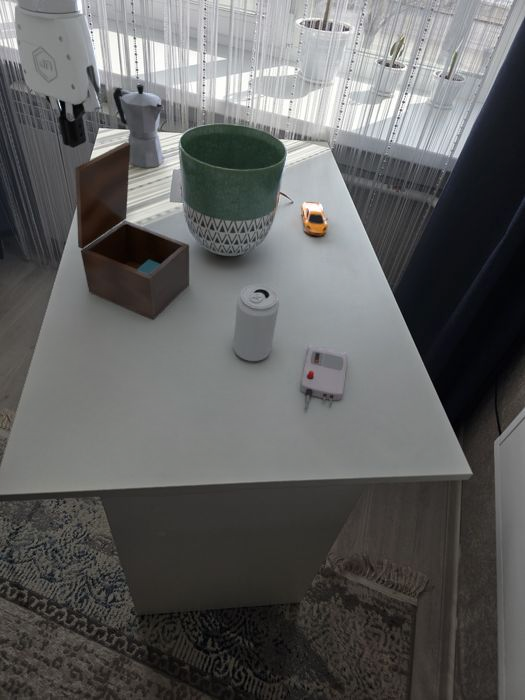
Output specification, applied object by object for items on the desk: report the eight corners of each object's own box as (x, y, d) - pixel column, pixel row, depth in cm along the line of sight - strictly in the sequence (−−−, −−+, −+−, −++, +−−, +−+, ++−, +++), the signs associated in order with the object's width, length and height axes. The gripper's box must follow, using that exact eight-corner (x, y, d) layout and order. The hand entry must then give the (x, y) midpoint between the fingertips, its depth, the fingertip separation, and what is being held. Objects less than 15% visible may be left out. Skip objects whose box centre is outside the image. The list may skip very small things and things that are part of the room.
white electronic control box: (346, 349, 81) (350, 337, 79) (338, 420, 71) (343, 409, 68) (309, 340, 82) (312, 328, 80) (295, 410, 71) (298, 398, 69)
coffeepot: (177, 162, 123) (175, 88, 110) (153, 174, 117) (148, 97, 104) (132, 144, 128) (125, 70, 115) (107, 155, 122) (97, 78, 109)
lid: (130, 143, 75) (126, 141, 75) (79, 170, 67) (74, 167, 67) (126, 218, 85) (122, 216, 85) (82, 249, 78) (78, 247, 78)
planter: (175, 270, 91) (173, 164, 76) (184, 218, 105) (183, 118, 89) (274, 278, 93) (291, 175, 78) (270, 225, 107) (284, 129, 91)
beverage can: (277, 347, 80) (288, 293, 71) (257, 370, 76) (265, 315, 67) (246, 331, 82) (253, 276, 73) (225, 352, 78) (229, 296, 69)
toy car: (303, 237, 105) (306, 223, 102) (298, 209, 113) (300, 196, 111) (328, 239, 105) (331, 225, 103) (321, 211, 114) (324, 198, 111)
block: (156, 301, 83) (155, 281, 80) (135, 292, 84) (133, 272, 81) (171, 288, 86) (170, 267, 83) (150, 279, 87) (148, 259, 84)
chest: (189, 284, 89) (189, 244, 83) (153, 320, 81) (149, 279, 75) (129, 260, 92) (124, 219, 86) (88, 291, 84) (80, 250, 78)
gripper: (-21, -12, 58) (18, 137, 71) (75, 15, 55) (98, 166, 68) (25, -18, 63) (54, 122, 76) (116, 6, 60) (130, 149, 73)
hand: (75, 143), depth 72 cm, fingers closed
